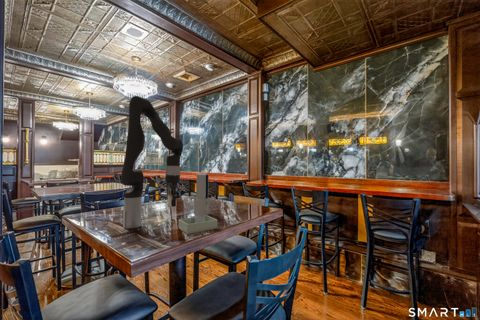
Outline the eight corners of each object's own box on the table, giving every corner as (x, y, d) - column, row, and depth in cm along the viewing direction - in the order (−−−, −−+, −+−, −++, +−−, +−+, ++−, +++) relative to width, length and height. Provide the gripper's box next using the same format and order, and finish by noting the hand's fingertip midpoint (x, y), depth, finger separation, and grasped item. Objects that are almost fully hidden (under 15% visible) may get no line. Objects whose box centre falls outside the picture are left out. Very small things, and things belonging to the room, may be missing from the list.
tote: (187, 234, 113) (187, 224, 113) (178, 228, 124) (178, 219, 124) (217, 228, 124) (217, 219, 124) (207, 223, 134) (207, 215, 134)
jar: (168, 207, 115) (169, 195, 115) (165, 206, 119) (166, 194, 119) (178, 206, 118) (178, 194, 118) (174, 205, 122) (175, 193, 122)
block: (194, 229, 120) (195, 218, 120) (190, 226, 125) (190, 216, 125) (204, 227, 123) (204, 217, 123) (200, 225, 128) (200, 215, 128)
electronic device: (203, 217, 150) (203, 174, 151) (193, 216, 151) (193, 173, 152) (209, 213, 162) (209, 173, 163) (200, 213, 164) (200, 173, 164)
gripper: (162, 173, 123) (161, 203, 122) (170, 174, 111) (169, 208, 111) (175, 173, 127) (174, 202, 127) (184, 174, 115) (183, 207, 115)
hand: (172, 205), depth 119 cm, fingers closed on jar, 4 cm apart
